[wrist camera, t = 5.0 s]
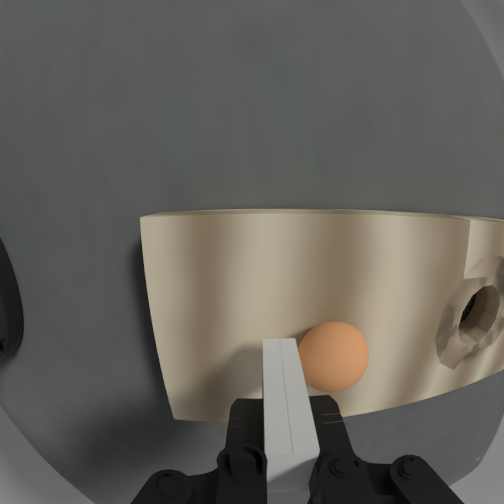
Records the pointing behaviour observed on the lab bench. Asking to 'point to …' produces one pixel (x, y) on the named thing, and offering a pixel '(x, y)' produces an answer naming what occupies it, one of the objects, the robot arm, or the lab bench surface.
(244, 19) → the lab bench surface
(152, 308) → the board
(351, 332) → the ball
